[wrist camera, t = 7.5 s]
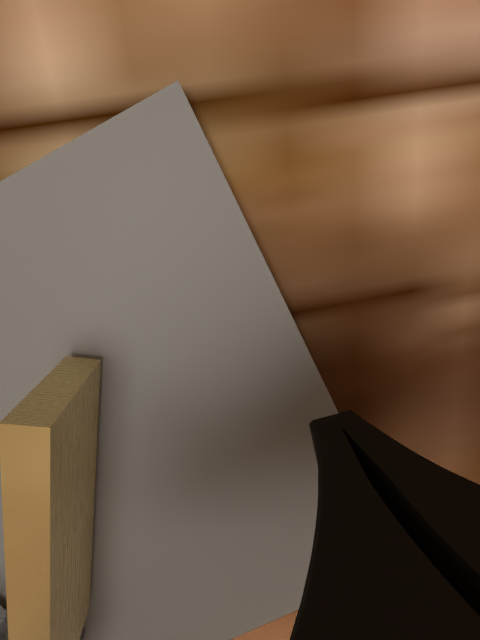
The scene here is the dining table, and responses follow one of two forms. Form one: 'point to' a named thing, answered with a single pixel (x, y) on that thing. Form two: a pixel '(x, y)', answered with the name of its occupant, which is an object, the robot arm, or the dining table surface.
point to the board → (166, 375)
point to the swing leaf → (50, 502)
